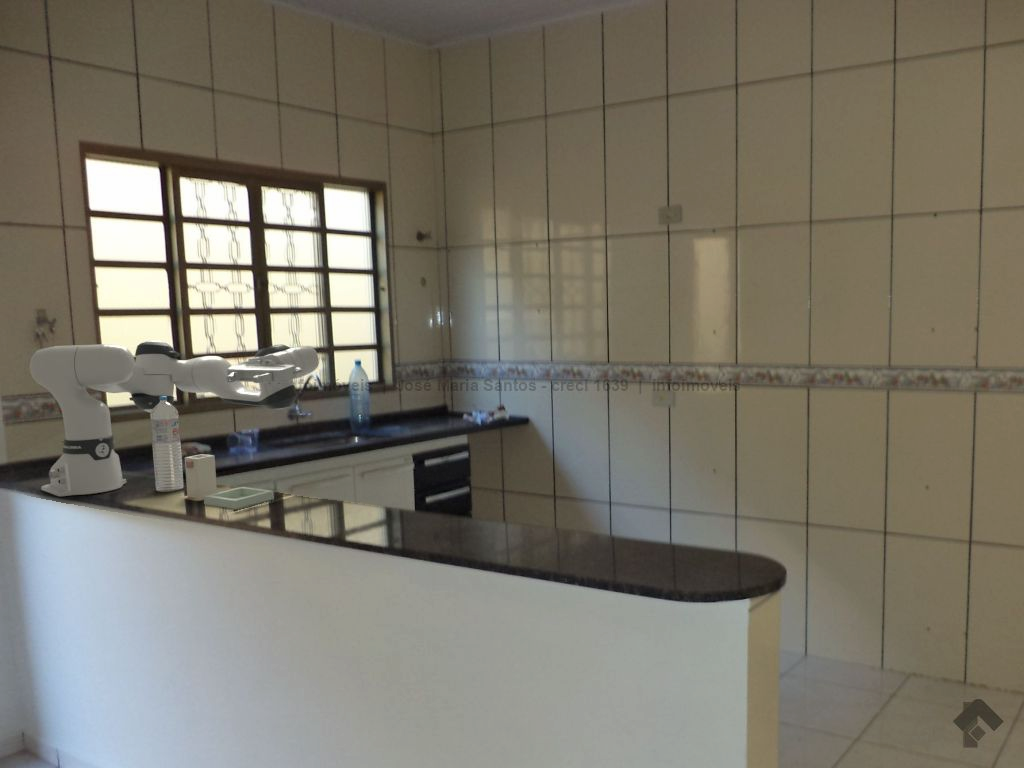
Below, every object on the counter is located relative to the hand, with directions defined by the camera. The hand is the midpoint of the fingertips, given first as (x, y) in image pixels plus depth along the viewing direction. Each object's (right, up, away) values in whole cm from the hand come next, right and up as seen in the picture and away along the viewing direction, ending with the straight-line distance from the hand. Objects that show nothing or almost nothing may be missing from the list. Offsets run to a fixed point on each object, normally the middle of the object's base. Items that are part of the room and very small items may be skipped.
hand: (241, 379), depth 222 cm
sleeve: (-6, -29, -13) cm, 32 cm away
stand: (-6, -30, -13) cm, 33 cm away
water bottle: (-18, -29, -3) cm, 35 cm away
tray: (+6, -30, -20) cm, 37 cm away
